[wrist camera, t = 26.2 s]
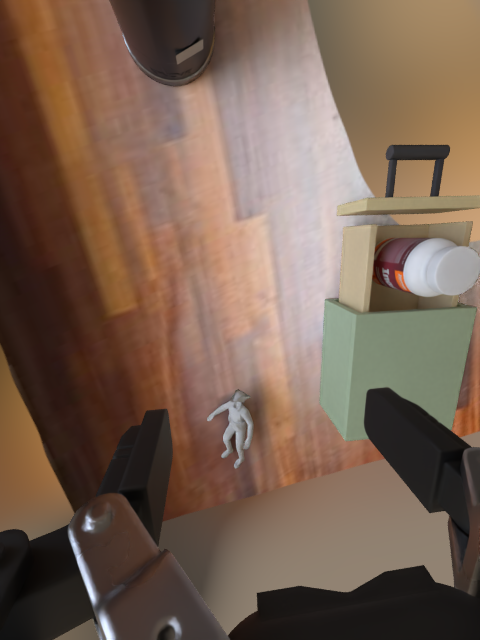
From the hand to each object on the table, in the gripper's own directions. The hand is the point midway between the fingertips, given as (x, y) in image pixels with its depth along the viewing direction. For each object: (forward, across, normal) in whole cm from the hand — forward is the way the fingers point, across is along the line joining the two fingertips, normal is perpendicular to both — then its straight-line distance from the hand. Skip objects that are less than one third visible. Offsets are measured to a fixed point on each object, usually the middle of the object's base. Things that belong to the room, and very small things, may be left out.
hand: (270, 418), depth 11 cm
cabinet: (+28, -21, +10) cm, 37 cm away
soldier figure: (+28, 0, +20) cm, 35 cm away
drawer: (+27, -21, -5) cm, 35 cm away
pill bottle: (+26, -21, -3) cm, 34 cm away
